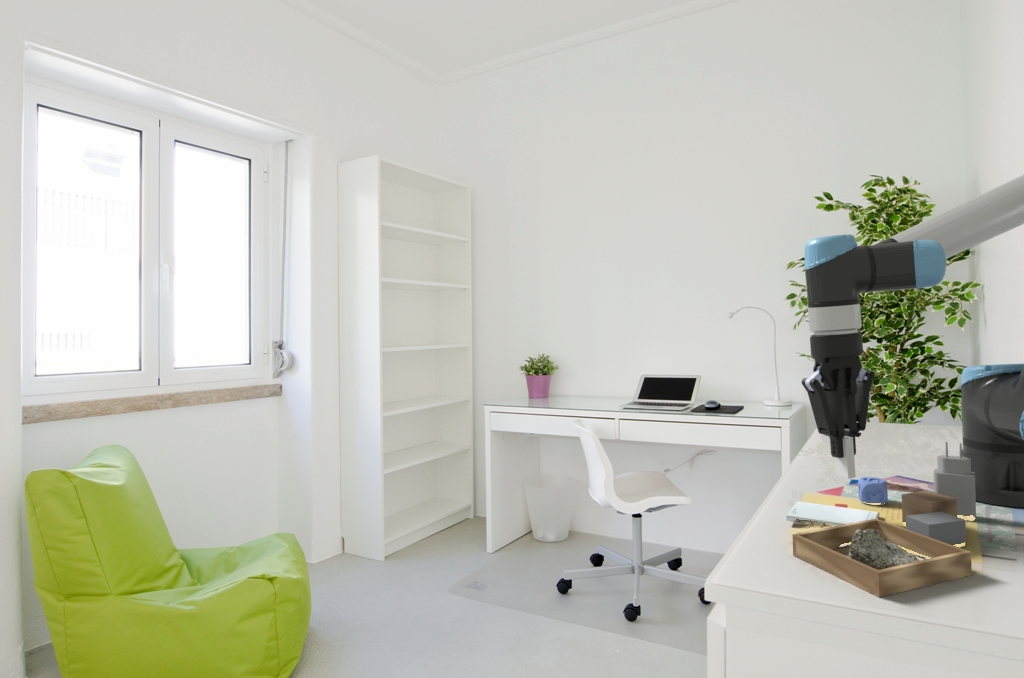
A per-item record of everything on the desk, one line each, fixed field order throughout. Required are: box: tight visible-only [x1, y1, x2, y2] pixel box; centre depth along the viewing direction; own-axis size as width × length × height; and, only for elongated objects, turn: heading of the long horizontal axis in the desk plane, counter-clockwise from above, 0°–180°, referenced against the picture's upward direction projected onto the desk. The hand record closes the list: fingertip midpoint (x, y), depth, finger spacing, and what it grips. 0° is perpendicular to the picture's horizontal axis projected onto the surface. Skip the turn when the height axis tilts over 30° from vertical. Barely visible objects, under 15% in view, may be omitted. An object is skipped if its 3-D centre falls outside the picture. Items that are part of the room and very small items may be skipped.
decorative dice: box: [857, 476, 889, 504], centre depth 109 cm, size 4×4×4 cm
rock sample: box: [846, 525, 921, 570], centre depth 82 cm, size 10×8×9 cm
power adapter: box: [933, 441, 977, 519], centre depth 100 cm, size 3×5×12 cm, turn 53°
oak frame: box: [792, 518, 973, 598], centre depth 84 cm, size 15×14×3 cm
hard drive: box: [786, 501, 880, 526], centre depth 102 cm, size 2×8×12 cm
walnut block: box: [901, 489, 957, 522], centre depth 96 cm, size 5×5×5 cm
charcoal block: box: [905, 512, 967, 545], centre depth 90 cm, size 6×4×4 cm, turn 100°
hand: (845, 476), depth 102 cm, fingers closed
